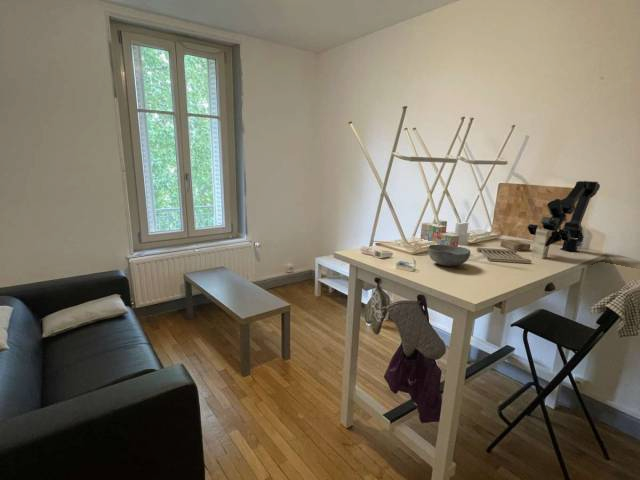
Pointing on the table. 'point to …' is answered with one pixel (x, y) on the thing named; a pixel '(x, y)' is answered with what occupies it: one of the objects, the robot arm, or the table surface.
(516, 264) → the table surface
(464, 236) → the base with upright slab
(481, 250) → the table surface
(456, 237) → the stack of blocks
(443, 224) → the skincare box
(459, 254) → the bowl
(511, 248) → the walnut block
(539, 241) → the birch block
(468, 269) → the table surface
